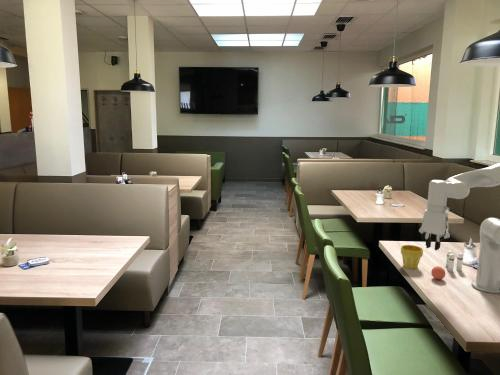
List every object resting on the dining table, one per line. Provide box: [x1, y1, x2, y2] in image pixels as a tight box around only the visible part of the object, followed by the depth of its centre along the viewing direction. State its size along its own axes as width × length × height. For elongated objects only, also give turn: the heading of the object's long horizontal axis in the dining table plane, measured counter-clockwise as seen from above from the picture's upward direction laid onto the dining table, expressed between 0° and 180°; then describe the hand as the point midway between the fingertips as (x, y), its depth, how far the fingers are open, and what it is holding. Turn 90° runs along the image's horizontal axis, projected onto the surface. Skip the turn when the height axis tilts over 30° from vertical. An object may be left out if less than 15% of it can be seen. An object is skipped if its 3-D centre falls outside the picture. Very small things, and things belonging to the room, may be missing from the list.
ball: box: [430, 266, 446, 280], centre depth 189 cm, size 6×6×6 cm
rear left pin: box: [445, 250, 454, 269], centre depth 204 cm, size 2×2×8 cm
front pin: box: [447, 253, 456, 272], centre depth 199 cm, size 2×2×8 cm
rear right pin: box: [455, 252, 464, 272], centre depth 200 cm, size 2×2×8 cm
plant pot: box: [400, 244, 424, 270], centre depth 204 cm, size 10×10×10 cm
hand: (432, 248), depth 180 cm, fingers open, 3 cm apart
